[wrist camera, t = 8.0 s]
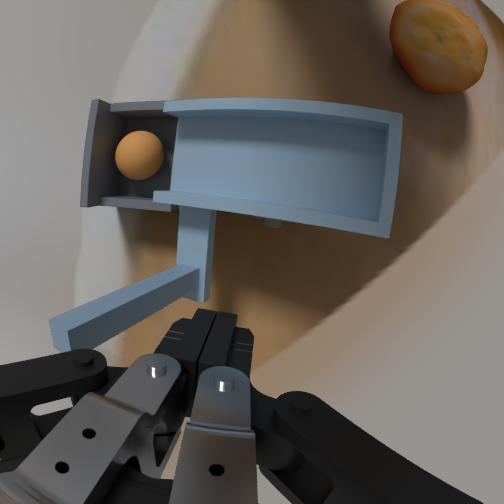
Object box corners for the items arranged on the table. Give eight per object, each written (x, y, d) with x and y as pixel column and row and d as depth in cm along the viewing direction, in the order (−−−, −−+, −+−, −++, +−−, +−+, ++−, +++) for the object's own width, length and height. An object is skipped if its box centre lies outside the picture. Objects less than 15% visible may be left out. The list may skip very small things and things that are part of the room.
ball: (161, 135, 21) (117, 132, 19) (171, 129, 18) (119, 125, 16) (156, 180, 22) (112, 178, 20) (165, 181, 19) (113, 179, 17)
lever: (187, 111, 16) (45, 62, 7) (395, 125, 13) (453, 19, 3) (171, 288, 19) (42, 354, 9) (360, 333, 15) (349, 485, 6)
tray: (124, 113, 20) (91, 99, 15) (204, 113, 20) (186, 94, 15) (115, 201, 22) (80, 206, 17) (193, 208, 22) (172, 215, 17)
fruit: (489, 81, 16) (515, 71, 10) (423, 108, 21) (427, 105, 15) (443, 7, 15) (449, -27, 9) (377, 35, 20) (363, 8, 14)
